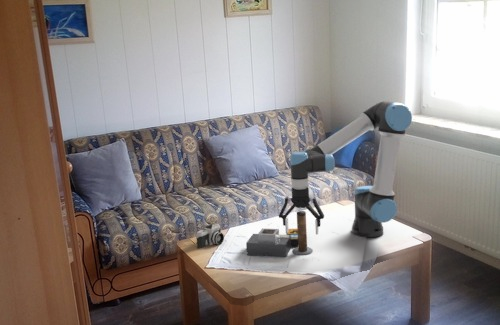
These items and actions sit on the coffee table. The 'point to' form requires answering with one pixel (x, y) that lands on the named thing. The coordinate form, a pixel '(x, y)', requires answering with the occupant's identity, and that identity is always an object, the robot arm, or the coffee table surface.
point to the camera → (209, 236)
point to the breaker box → (269, 244)
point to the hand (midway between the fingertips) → (302, 232)
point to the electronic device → (293, 236)
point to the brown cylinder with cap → (301, 231)
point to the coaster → (302, 252)
